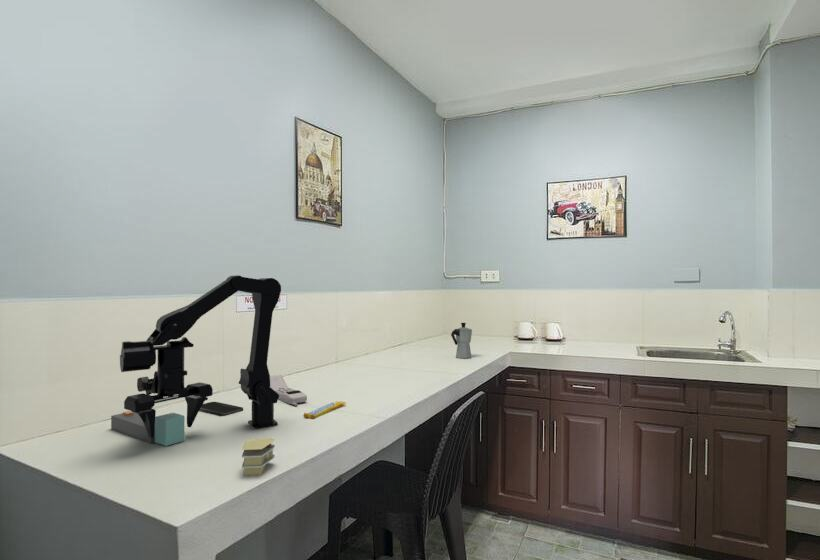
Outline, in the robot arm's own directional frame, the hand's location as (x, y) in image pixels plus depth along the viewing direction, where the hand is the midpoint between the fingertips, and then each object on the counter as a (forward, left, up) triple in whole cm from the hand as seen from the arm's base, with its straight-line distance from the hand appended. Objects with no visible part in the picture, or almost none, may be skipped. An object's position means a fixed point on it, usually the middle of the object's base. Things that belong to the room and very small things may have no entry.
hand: (170, 432), depth 110 cm
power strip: (+12, +6, -2) cm, 14 cm away
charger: (+2, +1, -2) cm, 3 cm away
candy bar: (+6, -41, -3) cm, 42 cm away
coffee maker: (+63, -137, -3) cm, 151 cm away
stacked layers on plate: (-27, -14, -3) cm, 31 cm away
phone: (+25, -14, -3) cm, 29 cm away
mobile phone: (+28, -36, -3) cm, 46 cm away
